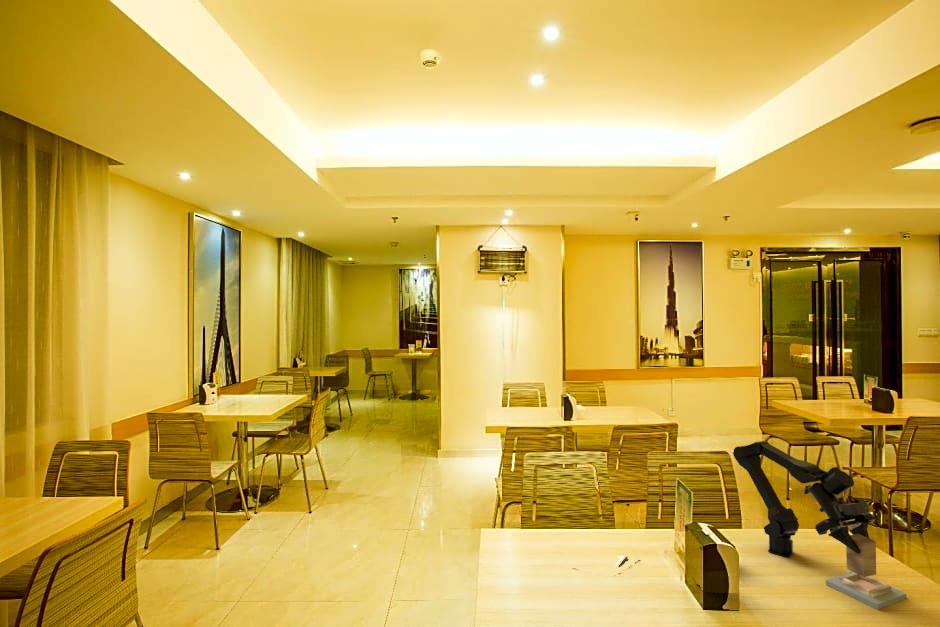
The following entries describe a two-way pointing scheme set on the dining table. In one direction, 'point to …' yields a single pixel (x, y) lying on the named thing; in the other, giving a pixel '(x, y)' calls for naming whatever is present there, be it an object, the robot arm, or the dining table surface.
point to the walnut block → (862, 556)
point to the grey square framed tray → (866, 589)
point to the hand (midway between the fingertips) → (865, 551)
